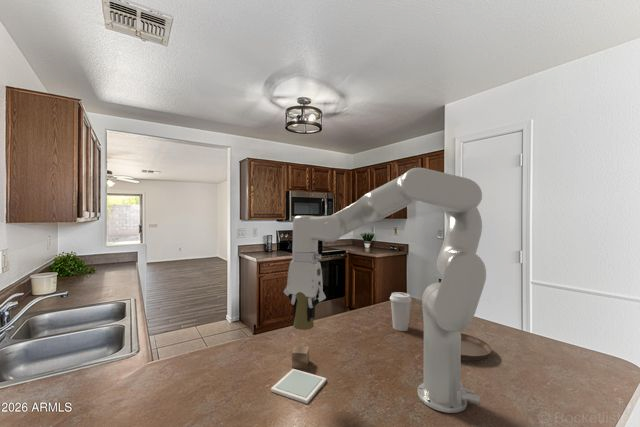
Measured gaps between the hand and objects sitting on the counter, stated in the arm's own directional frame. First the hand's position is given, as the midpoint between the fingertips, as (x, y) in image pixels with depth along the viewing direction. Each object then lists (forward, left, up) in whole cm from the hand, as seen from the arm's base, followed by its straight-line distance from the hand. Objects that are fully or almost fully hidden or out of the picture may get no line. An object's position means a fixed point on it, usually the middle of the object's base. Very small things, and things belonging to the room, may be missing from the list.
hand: (303, 318), depth 86 cm
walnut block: (+7, -10, -20) cm, 24 cm away
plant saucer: (-41, -46, -20) cm, 65 cm away
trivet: (+1, +1, -20) cm, 20 cm away
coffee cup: (-17, -57, -20) cm, 63 cm away
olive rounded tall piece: (0, 0, -2) cm, 2 cm away
